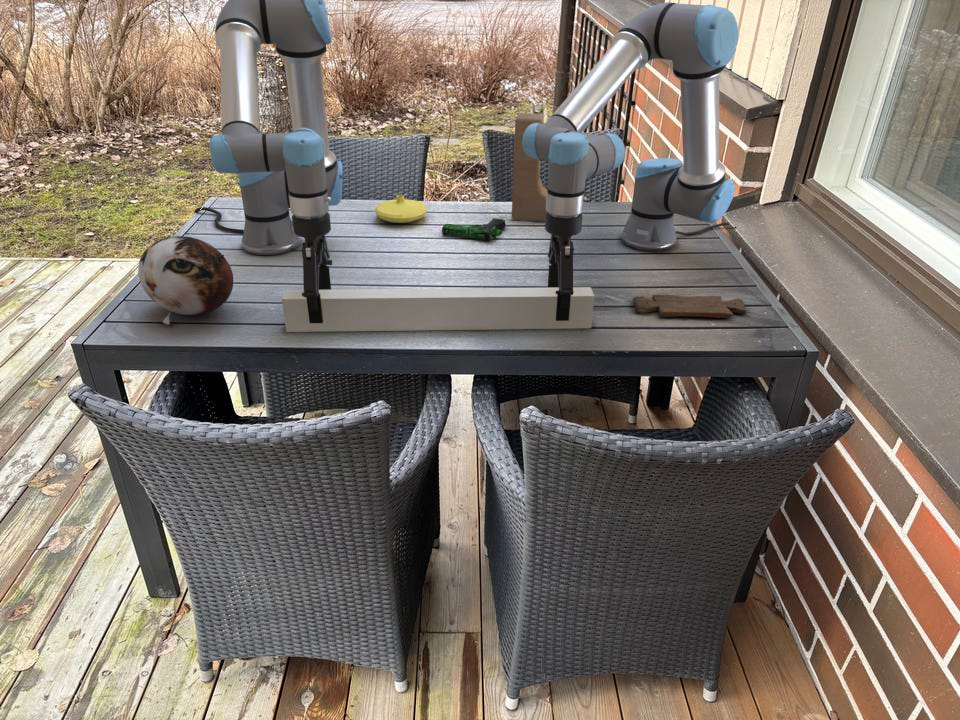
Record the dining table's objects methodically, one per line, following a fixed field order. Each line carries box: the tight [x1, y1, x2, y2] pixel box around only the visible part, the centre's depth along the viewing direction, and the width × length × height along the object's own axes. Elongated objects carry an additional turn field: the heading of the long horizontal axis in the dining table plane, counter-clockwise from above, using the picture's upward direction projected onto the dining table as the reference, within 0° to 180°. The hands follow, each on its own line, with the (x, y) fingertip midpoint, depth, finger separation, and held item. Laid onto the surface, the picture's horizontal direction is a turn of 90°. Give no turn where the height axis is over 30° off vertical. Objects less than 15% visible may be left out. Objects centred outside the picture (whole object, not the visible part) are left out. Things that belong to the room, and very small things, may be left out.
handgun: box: [441, 217, 506, 242], centre depth 207 cm, size 16×3×15 cm
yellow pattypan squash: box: [374, 194, 428, 224], centre depth 214 cm, size 16×16×7 cm
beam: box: [281, 286, 595, 333], centre depth 156 cm, size 67×4×8 cm, turn 93°
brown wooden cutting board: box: [632, 294, 747, 319], centre depth 166 cm, size 26×2×10 cm
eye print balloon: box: [137, 235, 234, 326], centre depth 158 cm, size 22×18×20 cm
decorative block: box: [511, 112, 547, 222], centre depth 211 cm, size 8×15×30 cm, turn 82°
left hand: (321, 307), depth 155 cm, fingers open, 13 cm apart
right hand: (557, 305), depth 157 cm, fingers open, 13 cm apart
